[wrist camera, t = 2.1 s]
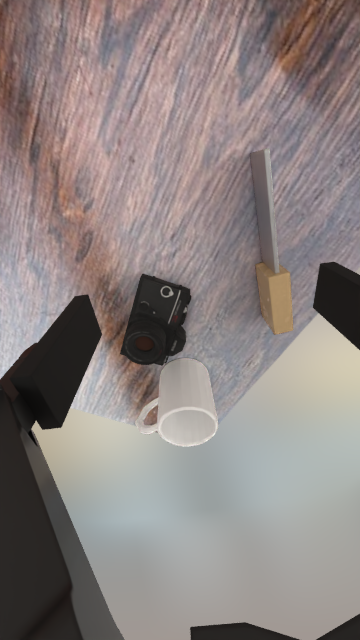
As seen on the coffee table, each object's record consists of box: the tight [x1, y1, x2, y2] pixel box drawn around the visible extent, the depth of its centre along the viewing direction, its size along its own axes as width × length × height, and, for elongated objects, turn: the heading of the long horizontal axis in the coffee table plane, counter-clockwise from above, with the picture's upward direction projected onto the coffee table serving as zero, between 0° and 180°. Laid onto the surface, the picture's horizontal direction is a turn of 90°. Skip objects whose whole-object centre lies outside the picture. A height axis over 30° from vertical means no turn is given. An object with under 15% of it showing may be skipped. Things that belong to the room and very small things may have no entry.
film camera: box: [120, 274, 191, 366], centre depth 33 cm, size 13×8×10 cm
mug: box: [135, 358, 218, 446], centre depth 37 cm, size 8×12×10 cm
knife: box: [250, 148, 293, 335], centre depth 28 cm, size 20×2×5 cm, turn 16°
